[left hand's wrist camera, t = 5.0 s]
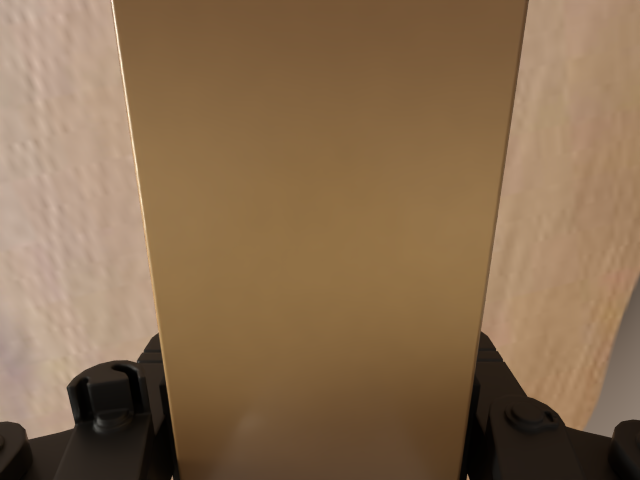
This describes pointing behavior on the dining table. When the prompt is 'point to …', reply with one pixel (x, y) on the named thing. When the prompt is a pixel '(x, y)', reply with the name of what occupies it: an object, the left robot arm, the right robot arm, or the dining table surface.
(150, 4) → the bar
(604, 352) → the dining table surface
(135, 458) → the left robot arm
